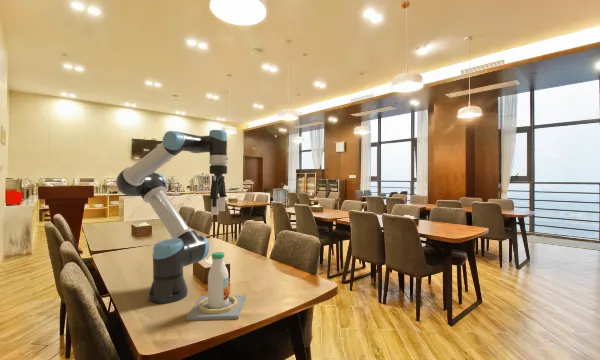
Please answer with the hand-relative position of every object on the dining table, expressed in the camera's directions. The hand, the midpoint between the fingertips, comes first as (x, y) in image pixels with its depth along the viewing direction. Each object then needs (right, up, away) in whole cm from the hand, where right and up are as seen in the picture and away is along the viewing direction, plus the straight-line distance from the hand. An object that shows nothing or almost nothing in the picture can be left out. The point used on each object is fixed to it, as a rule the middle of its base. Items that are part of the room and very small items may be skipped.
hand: (218, 212), depth 130 cm
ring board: (+5, -35, -18) cm, 39 cm away
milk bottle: (+5, -34, -18) cm, 38 cm away
